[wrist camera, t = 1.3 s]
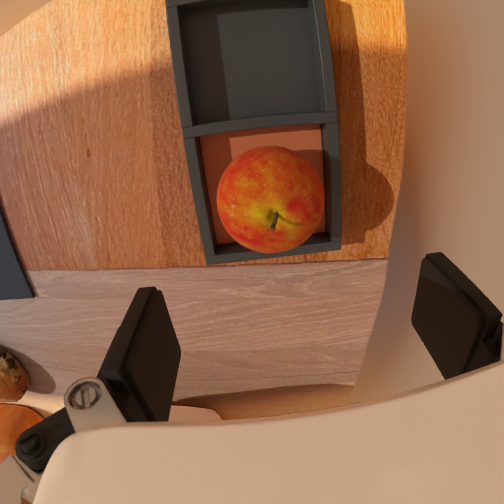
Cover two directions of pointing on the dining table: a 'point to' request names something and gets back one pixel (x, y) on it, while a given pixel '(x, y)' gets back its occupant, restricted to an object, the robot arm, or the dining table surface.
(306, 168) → the fruit
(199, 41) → the tray
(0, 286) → the mat
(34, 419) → the bread
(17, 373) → the bread roll
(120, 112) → the dining table surface
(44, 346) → the dining table surface
